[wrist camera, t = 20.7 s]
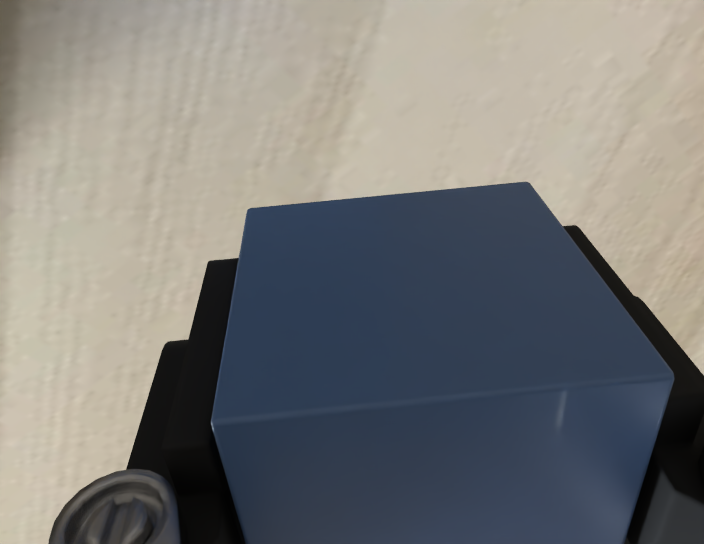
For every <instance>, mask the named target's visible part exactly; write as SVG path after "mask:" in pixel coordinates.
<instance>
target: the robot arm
mask: <svg viewBox="0 0 704 544" xmlns="http://www.w3.org/2000/svg"><path fill="white" fill-rule="evenodd" d="M563 228H564V229H565V230H566V232H567V233H568V234H569V236H570V237H571V238H572V240H573V241H574V242H575V244H576V245H577V246H578V247H579V249H580V250H581V251H582V253H583V254H584V255H585V257H586V258H587V259H588V261H589V262H590V263H591V265H592V266H593V267H594V269H595V270H596V271H597V272H598V274H599V275H600V276H601V278H602V279H603V280H604V282H605V283H606V284H607V286H608V287H609V288H610V290H611V291H612V292H613V294H614V295H615V296H616V298H617V299H618V300H619V301H620V303H621V304H622V305H623V307H624V308H625V309H626V311H627V312H628V313H629V315H630V316H631V317H632V319H633V320H634V321H635V323H636V324H637V325H638V326H639V328H640V329H641V330H642V332H643V333H644V334H645V336H646V337H647V338H648V340H649V341H650V342H651V344H652V345H653V346H654V348H655V349H656V350H657V351H658V353H659V354H660V355H661V357H662V358H663V359H664V361H665V362H666V363H667V365H668V366H669V367H670V369H671V370H672V371H673V373H674V382H673V386H672V389H671V392H670V395H669V399H668V402H667V405H666V408H665V412H664V415H663V418H662V422H661V425H660V428H659V431H658V435H657V438H656V441H655V444H654V448H653V451H652V454H651V458H650V461H649V464H648V467H647V471H646V474H645V477H644V480H643V484H642V487H641V490H640V493H639V497H638V500H637V503H636V507H635V510H634V513H633V516H632V520H631V523H630V526H629V529H628V533H627V536H626V539H625V542H624V544H704V375H703V374H702V373H701V372H700V371H699V369H698V368H697V367H696V366H695V364H694V363H693V362H692V361H691V360H690V358H689V357H688V356H687V355H686V353H685V352H684V351H683V350H682V348H681V347H680V346H679V345H678V344H677V342H676V341H675V340H674V339H673V337H672V336H671V335H670V334H669V332H668V331H667V330H666V329H665V328H664V326H663V325H662V324H661V323H660V321H659V320H658V319H657V318H656V317H655V315H654V314H653V313H652V312H651V310H650V309H649V308H648V307H647V305H646V304H645V303H644V302H643V301H642V300H641V299H640V298H638V297H636V296H633V294H632V293H631V292H630V291H629V289H628V288H627V287H626V286H625V284H624V283H623V282H622V281H621V279H620V278H619V277H618V276H617V274H616V273H615V272H614V271H613V269H612V268H611V267H610V266H609V264H608V263H607V262H606V261H605V259H604V258H603V257H602V256H601V254H600V253H599V252H598V251H597V249H596V248H595V247H594V246H593V245H592V243H591V242H590V241H589V240H588V238H587V237H586V236H585V235H584V233H583V232H582V231H581V230H580V228H579V227H577V226H575V225H572V226H563ZM238 261H239V258H234V259H224V260H214V261H209V262H208V264H207V268H206V272H205V276H204V280H203V284H202V288H201V292H200V296H199V300H198V304H197V308H196V312H195V316H194V320H193V324H192V328H191V332H190V336H189V340H179V341H170V342H167V343H166V344H165V345H164V348H163V350H162V353H161V356H160V359H159V363H158V366H157V369H156V373H155V376H154V379H153V383H152V386H151V389H150V392H149V396H148V399H147V402H146V406H145V409H144V412H143V416H142V419H141V422H140V426H139V429H138V432H137V435H136V439H135V442H134V445H133V449H132V452H131V455H130V459H129V462H128V465H127V469H126V470H123V471H117V472H114V473H111V474H109V475H106V476H104V477H101V478H99V479H96V480H95V481H93V482H92V483H90V484H89V485H87V486H86V487H84V488H83V489H81V490H80V491H79V492H78V493H77V494H76V495H75V496H74V497H73V498H72V499H71V500H70V501H69V502H68V503H67V504H66V505H65V506H64V507H63V509H62V511H61V512H60V514H59V515H58V517H57V518H56V520H55V522H54V525H53V528H52V531H51V535H50V538H49V544H246V543H245V539H244V536H243V532H242V529H241V525H240V522H239V519H238V515H237V512H236V508H235V505H234V501H233V498H232V495H231V491H230V488H229V484H228V481H227V477H226V474H225V471H224V467H223V464H222V460H221V457H220V453H219V450H218V447H217V443H216V440H215V436H214V433H213V429H212V426H211V418H212V412H213V406H214V400H215V395H216V389H217V383H218V377H219V371H220V365H221V360H222V354H223V348H224V342H225V336H226V331H227V325H228V319H229V313H230V307H231V301H232V296H233V290H234V284H235V278H236V272H237V266H238Z"/></svg>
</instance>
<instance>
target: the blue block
mask: <svg viewBox="0 0 704 544" xmlns="http://www.w3.org/2000/svg"><path fill="white" fill-rule="evenodd" d="M673 382H674V373H673V371H672V370H671V369H670V367H669V366H668V365H667V363H666V362H665V361H664V359H663V358H662V357H661V355H660V354H659V353H658V351H657V350H656V349H655V348H654V346H653V345H652V344H651V342H650V341H649V340H648V338H647V337H646V336H645V334H644V333H643V332H642V330H641V329H640V328H639V326H638V325H637V324H636V323H635V321H634V320H633V319H632V317H631V316H630V315H629V313H628V312H627V311H626V309H625V308H624V307H623V305H622V304H621V303H620V301H619V300H618V299H617V298H616V296H615V295H614V294H613V292H612V291H611V290H610V288H609V287H608V286H607V284H606V283H605V282H604V280H603V279H602V278H601V276H600V275H599V274H598V272H597V271H596V270H595V269H594V267H593V266H592V265H591V263H590V262H589V261H588V259H587V258H586V257H585V255H584V254H583V253H582V251H581V250H580V249H579V247H578V246H577V245H576V244H575V242H574V241H573V240H572V238H571V237H570V236H569V234H568V233H567V232H566V230H565V229H564V228H563V226H562V225H561V224H560V222H559V221H558V220H557V219H556V217H555V216H554V215H553V213H552V212H551V211H550V209H549V208H548V207H547V205H546V204H545V203H544V201H543V200H542V199H541V197H540V196H539V195H538V194H537V192H536V191H535V190H534V188H533V187H532V186H531V184H530V183H529V182H518V183H508V184H497V185H487V186H477V187H466V188H456V189H445V190H435V191H425V192H414V193H404V194H394V195H383V196H373V197H362V198H352V199H342V200H331V201H321V202H310V203H300V204H290V205H279V206H269V207H259V208H250V209H248V210H247V214H246V220H245V226H244V231H243V237H242V243H241V249H240V255H239V261H238V266H237V272H236V278H235V284H234V290H233V296H232V301H231V307H230V313H229V319H228V325H227V331H226V336H225V342H224V348H223V354H222V360H221V365H220V371H219V377H218V383H217V389H216V395H215V400H214V406H213V412H212V418H211V426H212V429H213V433H214V436H215V440H216V443H217V447H218V450H219V453H220V457H221V460H222V464H223V467H224V471H225V474H226V477H227V481H228V484H229V488H230V491H231V495H232V498H233V501H234V505H235V508H236V512H237V515H238V519H239V522H240V525H241V529H242V532H243V536H244V539H245V543H246V544H624V542H625V539H626V536H627V533H628V529H629V526H630V523H631V520H632V516H633V513H634V510H635V507H636V503H637V500H638V497H639V493H640V490H641V487H642V484H643V480H644V477H645V474H646V471H647V467H648V464H649V461H650V458H651V454H652V451H653V448H654V444H655V441H656V438H657V435H658V431H659V428H660V425H661V422H662V418H663V415H664V412H665V408H666V405H667V402H668V399H669V395H670V392H671V389H672V386H673Z"/></svg>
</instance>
